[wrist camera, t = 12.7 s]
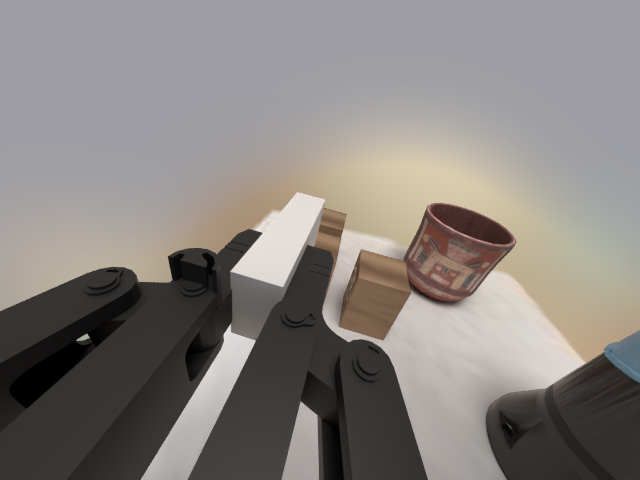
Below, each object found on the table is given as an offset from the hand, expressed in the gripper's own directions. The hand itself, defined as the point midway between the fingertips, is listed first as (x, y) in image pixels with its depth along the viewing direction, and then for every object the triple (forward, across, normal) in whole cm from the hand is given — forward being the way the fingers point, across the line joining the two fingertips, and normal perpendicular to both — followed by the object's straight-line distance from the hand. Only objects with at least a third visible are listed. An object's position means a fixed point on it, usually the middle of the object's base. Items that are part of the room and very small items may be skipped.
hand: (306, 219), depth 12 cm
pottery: (+37, +28, -28) cm, 54 cm away
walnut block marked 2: (+20, +11, -28) cm, 36 cm away
